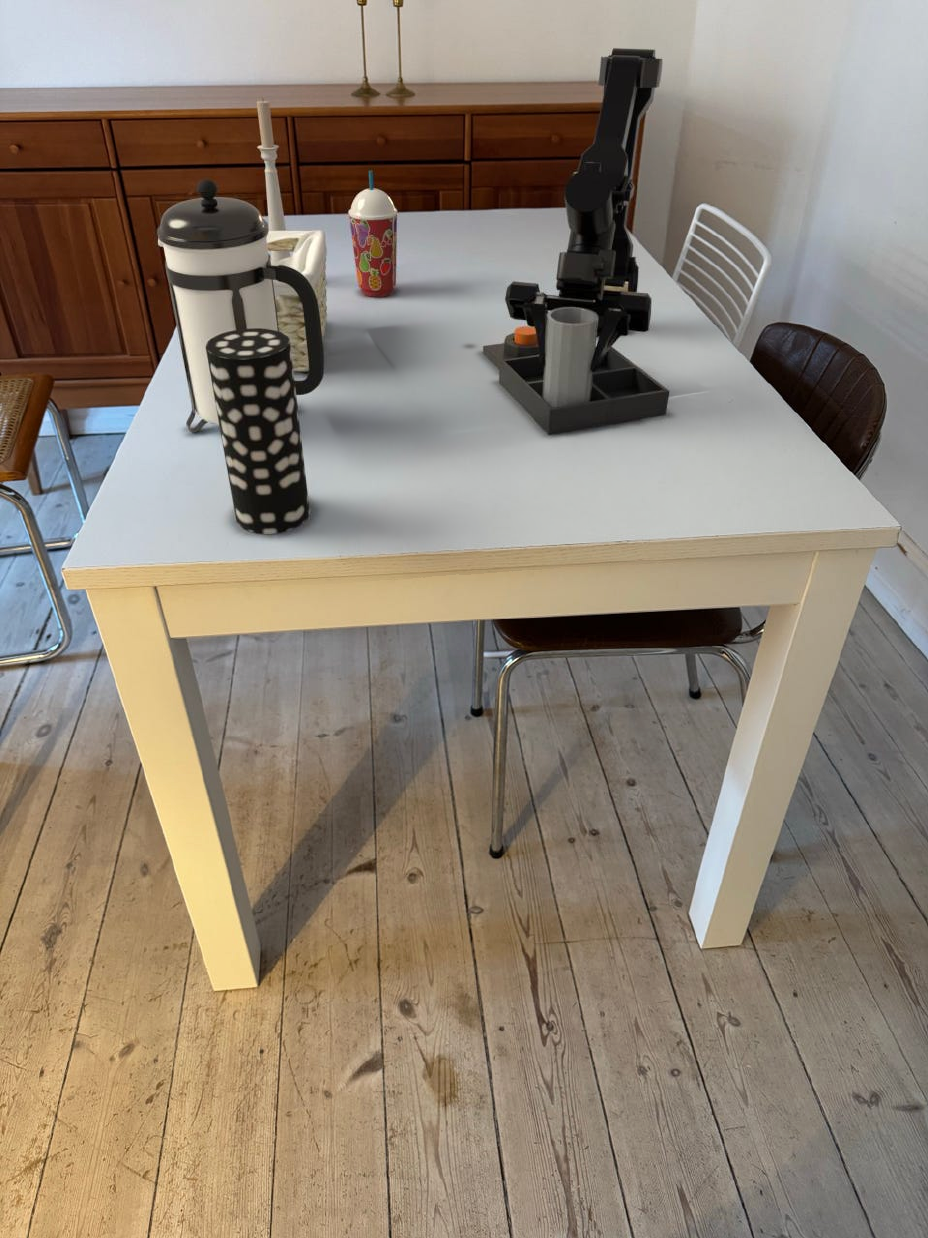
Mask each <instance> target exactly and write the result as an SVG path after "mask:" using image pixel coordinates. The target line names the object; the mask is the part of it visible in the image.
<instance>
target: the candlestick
mask: <svg viewBox="0 0 928 1238" xmlns="http://www.w3.org/2000/svg"><path fill="white" fill-rule="evenodd" d="M256 105H257V106H256V108H257V117H258V124H259V133H260V141H261V144H260V145H258V146H257V149H258V150H259V151H260V153H261V154H260V158H261V159H262V160H263V162H264V164H265V169H264V174H265V189H266V190H265V191H266V201H267V202H266V203H267V214H268V215H267V216H268V229H269V231H287V226H286V221H285V220H286V219H285V215H284V214H285V213H284V207H283V201H282V196H281V190H280V189H281V188H280V183H279V176H278V169H277V168H276V160H277V158H278V154H277V150H278V148H280V145H277V144H274V143H275V142H274V135H273V124H272V115H271V108H270V101H268V100H264V98H262V100H258V101H256ZM291 256H292V255H291V252H289V251H270V257H271V263H275V262H278V261H280V260H283V259H286V258H288V257H291Z"/></svg>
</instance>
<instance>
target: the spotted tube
mask: <svg viewBox="0 0 928 1238" xmlns="http://www.w3.org/2000/svg"><path fill="white" fill-rule="evenodd" d="M206 353H207V358H208V364H209V369H210V375H211V381H212V386H213V392H214V398H215V403H216V409H217V415H218V420H219V426H218V427H219V432H220V436H221V442H222V448H223V453H224V459H225V465H226V471H227V477H228V483H229V488H230V493H231V499H232V504H233V510H234V516H235V521H236V523H237V525H238V526H239V527H240V528H242V529H243V530H245V531H247V532H250V533H253V534H259V535H260V534H262V535H272V534H273V535H274V534H281V533H285V532H289V531H292V530H294V529H296V528H299V527H300V526H302V525H303V524H304V523H306V522H307V520H308V518H309V517H310V514H311V508H310V501H309V491H308V483H307V474H306V466H305V459H304V457H305V456H304V449H303V442H302V441H303V440H302V434H301V433H302V432H301V424H300V415H299V409H298V400H297V395H296V389H295V381H296V380H295V373H294V372H293V364H292V356H291V347H290V339H289V338H288V336H287V335H285V334H284V333H281V332H279V331H275V330H270V329H261V328H249V329H239V330H233V331H228V332H225V333H222V334H219V335H217V336H215V337H213V338H211V339H210V340H209V341H208V342H207V344H206ZM294 380H295V381H294Z"/></svg>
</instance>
